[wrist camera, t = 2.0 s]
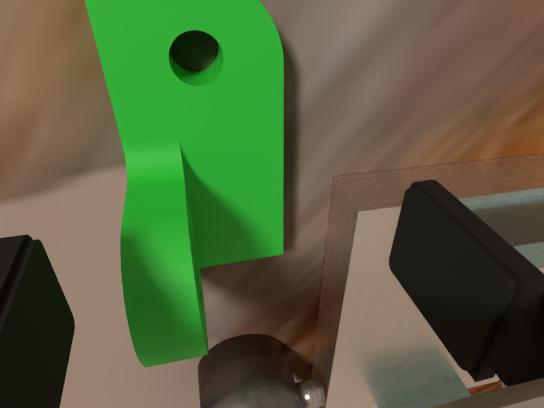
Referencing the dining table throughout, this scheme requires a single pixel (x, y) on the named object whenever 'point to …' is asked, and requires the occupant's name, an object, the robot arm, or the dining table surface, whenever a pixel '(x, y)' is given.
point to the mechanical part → (191, 157)
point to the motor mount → (378, 299)
